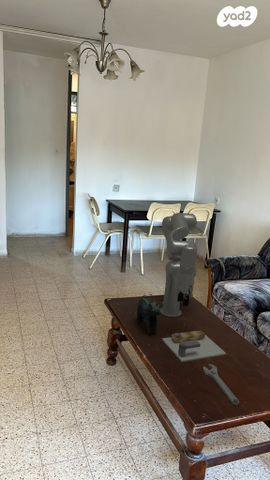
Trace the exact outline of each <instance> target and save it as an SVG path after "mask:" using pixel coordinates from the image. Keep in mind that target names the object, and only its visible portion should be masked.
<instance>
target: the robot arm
mask: <svg viewBox="0 0 270 480" xmlns="http://www.w3.org/2000/svg"><path fill="white" fill-rule="evenodd" d="M197 222H198V219H197V216H196V215H195V214H193V213H190V212H189V213H187V212H175V213H173V214H172V215H169V216H165V217H163V218H162V222H161V227H162V233H163V236H164V238H165V242H166V254H167V258H168V260H169V261H167V263H166V265H165V282H164V283H165V284H164V285H165V286H164V295H163V301H161V304H162V307H160V315H162V316H164V317H168V318H178V317H181V315H182V310H181V309H180V303H181V302H182V307H189V305H190V299H191V298H192V297H193V296H194V294H193V291H194V285H195V283H194V282H195V277H196V276H197V263H196V262H197V254H198V245H197V244H196V243H195V242H194V241H190V240H184V239H185V238H186V237H187V236H188V235H189V234H190V231H193V230H194V229H195V228H196V226H197V224H198V223H197ZM182 239H183V240H182Z"/></svg>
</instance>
